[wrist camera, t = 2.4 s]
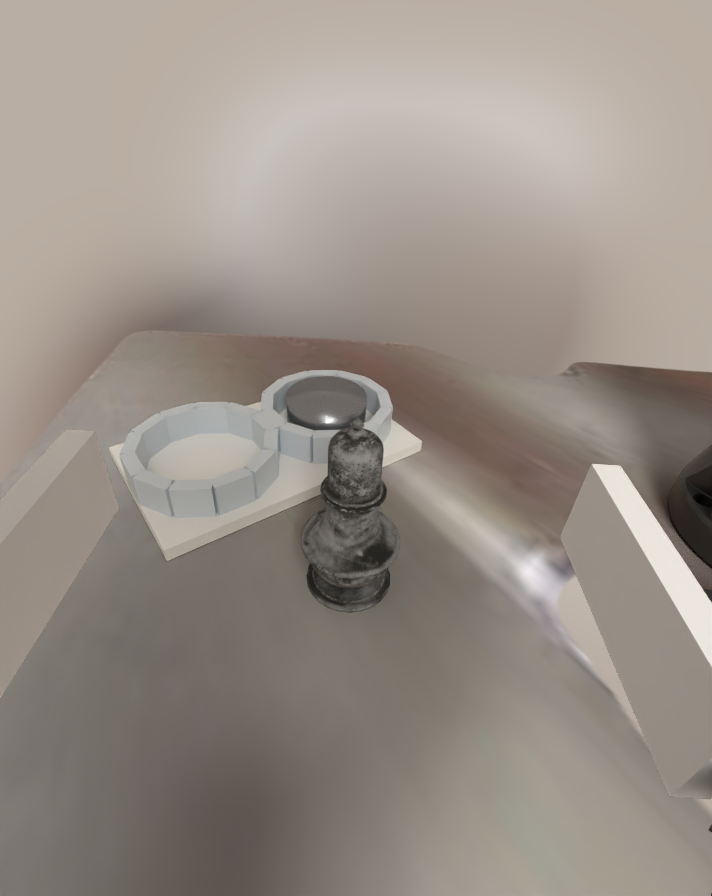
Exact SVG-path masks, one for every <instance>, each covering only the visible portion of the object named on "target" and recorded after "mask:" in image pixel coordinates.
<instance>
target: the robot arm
mask: <svg viewBox="0 0 712 896" xmlns="http://www.w3.org/2000/svg"><path fill="white" fill-rule="evenodd" d="M668 508H669V512H670V516H671V518H672V520H673V523H674V524H675V526H676V528H677V530H678V531H679V533H680V534H681V535H682V537H683V538H684V539H685V541H686V542H687V543H688V544H689V545H690V546H691V547H692V549H693V550H694V551H695V552H696V553H697V554H698V555H699V556H700V557H702V558H703V559H704V560H705V561H706V562H707V563H708V564H710V565H711V566H712V445H711V446H710V447H708V448H707V449H706V450H705V451H703V452H702V453H701V454H700V455H698V456H697V457H696V458H695V459H693V460H692V461H691V462H690V463H689V464H688V465H687V466H686V467H685V468H684V469H683V470H682V472H681V474H680V475H679V477H678V479H677V480H676V482H675V484H674V486H673V487H672V489H671V491H670V493H669V497H668ZM118 509H119V507H118V504H117V501H116V498H115V494H114V491H113V488H112V485H111V482H110V478H109V475H108V472H107V469H106V465H105V462H104V459H103V456H102V452H101V449H100V446H99V443H98V440H97V436H96V433H95V431H81V430H65V431H64V432H63V433H62V434H61V435H60V436H59V437H58V438H57V439H56V441H55V442H54V443H53V444H52V445H51V446H50V447H49V448H48V449H47V450H46V451H45V452H44V453H43V454H42V456H41V457H40V458H39V459H38V460H37V461H36V462H35V463H34V464H33V465H32V466H31V467H30V468H29V469H28V471H27V472H26V473H25V474H24V475H23V476H22V477H21V478H20V479H19V480H18V481H17V482H16V483H15V484H14V486H13V487H12V488H11V489H10V490H9V491H8V492H7V493H6V494H5V495H4V496H3V497H2V498H1V499H0V698H1V697H2V695H3V694H4V692H5V690H6V689H7V687H8V686H9V684H10V682H11V681H12V679H13V678H14V676H15V674H16V673H17V671H18V670H19V668H20V666H21V665H22V663H23V662H24V660H25V658H26V657H27V655H28V653H29V652H30V650H31V649H32V647H33V645H34V644H35V642H36V641H37V639H38V637H39V636H40V634H41V633H42V631H43V629H44V628H45V626H46V625H47V623H48V621H49V620H50V618H51V617H52V615H53V613H54V612H55V610H56V609H57V607H58V605H59V604H60V602H61V601H62V599H63V597H64V596H65V594H66V593H67V591H68V589H69V588H70V586H71V585H72V583H73V581H74V580H75V578H76V577H77V575H78V573H79V572H80V570H81V569H82V567H83V565H84V564H85V562H86V561H87V559H88V557H89V556H90V554H91V553H92V551H93V549H94V548H95V546H96V545H97V543H98V541H99V540H100V538H101V537H102V535H103V533H104V532H105V530H106V529H107V527H108V525H109V524H110V522H111V520H112V519H113V517H114V516H115V514H116V512H117V511H118ZM560 538H561V540H562V543H563V545H564V547H565V550H566V552H567V555H568V557H569V559H570V562H571V564H572V566H573V569H574V571H575V574H576V576H577V578H578V581H579V583H580V585H581V588H582V590H583V593H584V595H585V597H586V600H587V602H588V604H589V607H590V609H591V612H592V614H593V616H594V619H595V621H596V623H597V626H598V628H599V631H600V633H601V635H602V637H603V640H604V642H605V645H606V647H607V650H608V652H609V654H610V657H611V659H612V661H613V664H614V666H615V669H616V671H617V673H618V676H619V678H620V680H621V683H622V685H623V687H624V690H625V692H626V694H627V697H628V699H629V702H630V704H631V707H632V709H633V711H634V714H635V716H636V719H637V721H638V723H639V726H640V728H641V730H642V733H643V735H644V738H645V740H646V742H647V745H648V747H649V749H650V752H651V754H652V757H653V759H654V761H655V764H656V766H657V768H658V771H659V773H660V776H661V778H662V780H663V783H664V785H665V787H666V790H667V792H668V795H669V797H683V798H699V799H711V798H712V590H704V589H702V588H701V586H700V585H699V583H698V582H697V580H696V579H695V577H694V576H693V574H692V573H691V571H690V570H689V568H688V567H687V565H686V564H685V562H684V561H683V559H682V558H681V556H680V555H679V553H678V552H677V550H676V549H675V547H674V545H673V544H672V542H671V541H670V539H669V538H668V536H667V535H666V533H665V532H664V530H663V529H662V527H661V526H660V524H659V523H658V521H657V520H656V518H655V517H654V515H653V514H652V512H651V511H650V509H649V508H648V506H647V505H646V503H645V502H644V500H643V499H642V497H641V496H640V494H639V493H638V491H637V490H636V488H635V487H634V485H633V484H632V482H631V481H630V479H629V478H628V476H627V475H626V473H625V472H624V470H623V469H622V467H621V466H616V465H601V464H591V467H590V469H589V471H588V474H587V476H586V478H585V481H584V483H583V485H582V488H581V490H580V492H579V494H578V497H577V499H576V501H575V504H574V506H573V508H572V511H571V513H570V515H569V518H568V520H567V522H566V525H565V527H564V529H563V532H562V534H561V536H560ZM709 831H711V832H712V825H711V826H710V828H709ZM711 896H712V894H711Z"/></svg>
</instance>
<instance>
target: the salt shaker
mask: <svg viewBox="0 0 712 896" xmlns="http://www.w3.org/2000/svg"><path fill="white" fill-rule="evenodd" d="M350 426H351V428H346V429H342V430H340V431H338V432H337V433H336V434H335V435H334V436H333V437H332V438H331V440H330V442H329V446H328V476H327V477H326V478H325V479H324V480H323V482H322V483H321V488H320V491H321V496H322V497H323V499H324V501H325V502H326V508H325V509H323V510H321V511H320V512H318V513H316V514H315V515H314V516H313V517H312V518H310V519H309V520H308V522H307V523H306V525H305V527H304V528H303V532H302V536H301V543H302V550H303V552H304V554H305V556H306V558H307V559H308V560H309V561H310V563H311V564H310V565H309V567H308V572H307V582H308V587H309V589H310V591H311V593H312V595H313V596H314V597H315V598H316V599H317V600H318V601H319V602H320V603H321V604H323V605H325V606H326V607H328V608H330V609H333V610H336V611H340V612H358V611H363V610H366V609H368V608H371V607H373V606H374V605H376V604H377V603H378V602H380V601H381V600H382V598H383V597H384V596H385V594H386V593H387V590H388V588H389V585H390V573H389V570H388V567H389V566H390V565H391V564H392V562H393V561H394V560H395V559H396V557H397V554H398V552H399V549H400V536H399V533H398V530H397V528H396V527H395V525H394V524H393V522H392V521H391V520H390V519H389V518H388V517H386V516H385V515H384V514H383V513H381V512H379V507H380V505H381V504H382V503H383V502H384V500H385V498H386V493H387V489H386V486H385V483H384V482H383V481H382V480H381V473H382V463H383V453H384V448H383V443H382V441H381V440H380V438H379V437H378V436H377V435H376V434H375V433H374V432H372V431H370V430H367V429H364V428H363V427H364V424H363V423H362V421H361V420H360V419H359V418H356V419H355V420H354V421H353V422H352V423H351V425H350Z"/></svg>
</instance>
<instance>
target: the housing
mask: <svg viewBox="0 0 712 896" xmlns="http://www.w3.org/2000/svg"><path fill="white" fill-rule="evenodd" d="M317 376H334V377H340V378H345V379H348V380H351V381H353V382H355V383H357V384H358V385H360V386H361V387H362V388H363V389H364V390H365V392H366V395H367V402H366V417H365V423H363V424H364V427H363V428H364V429H367V430H370V431H372V432H374V433H375V434H376V435H377V436H378V437H379V438H380V440H381V441H382V443H383V448H384V453H383V463H382V467H385V466H387V465H389V464H391V463H394V462H396V461H398V460H401V459H403V458H405V457H408V456H410V455H412V454H414V453H417V452H419V451H421V445H422V441H421V440H419V439H418V438H417V437H415V436H414V435H413V434H411V433H410V432H409V431H407V430H406V429H404V428H403V427H402V426H400V425H399V424H398V423H396V422H395V421H393V420H392V411H393V406H392V403H391V400H390V397H389V394H388V391H387V390H386V389H384V388H383V387H381V386H380V385H378V384H377V383H375V382H374V381H372V380H371V379H369V378H366V377H365V376H361V375H357V374H353V373H349V372H345V371H341V370H340V371H339V372H338V370H309V372H308V371H303V372H300V373H296V374H293V375H289V376H285V377H282V378H281V379H278V380H277V381H276V382H274V383H273V384H272V385H271V386H269V387H268V388H267V389H266V390H264V391H263V393H262V398H261V402H258V403H255V404H251V405H248V406H243V405H240V404H236V403H233V402H231V403H229V402H195V405H194V404H193V403H189V404H186V405H182V406H179V407H175V408H171V409H168V410H164V411H161V412H159V413H160V414H158V413H156V414H154V415H153V416H151V417H150V418H148V419H147V420H145V421H144V422H142V423H141V424H139V425H138V426H136V427H135V428H133V429H132V430H131V431H132V432H129V434H128V436H127V438H126V440H125V442H124V443H122V444H119V445H115V446H112V447H109V449H110V453H111V456H112V458H113V460H114V462H115V464H116V466H117V468H118V470H119V472H120V473H121V475H122V477H123V479H124V481H125V483H126V485H127V487H128V489H129V491H130V492H131V494H132V496H133V498H134V500H135V502H136V504H137V506H138V508H139V510H140V511H141V513H142V515H143V517H144V519H145V521H146V523H147V525H148V527H149V528H150V530H151V532H152V534H153V536H154V538H155V540H156V542H157V544H158V546H159V547H160V549H161V551H162V553H163V555H164V557H165V559H166V561H169V560H171V559H173V558H175V557H178V556H180V555H182V554H185V553H187V552H189V551H192V550H194V549H196V548H198V547H201V546H203V545H205V544H208V543H210V542H212V541H215V540H217V539H219V538H221V537H224V536H226V535H228V534H231V533H233V532H235V531H238V530H240V529H242V528H244V527H247V526H249V525H251V524H254V523H256V522H258V521H260V520H263V519H265V518H267V517H270V516H272V515H274V514H277V513H279V512H281V511H283V510H286V509H288V508H290V507H293V506H295V505H297V504H300V503H302V502H304V501H306V500H309V499H311V498H313V497H316V496H318V495H320V494H321V491H320V488H321V483H322V482H323V480H324V479H325V478H326V477H327V476H328V446H329V442H330V440H331V438H332V437H333V436H334V435H335V434H336V433H337V432H338V431H340V430H312V429H308V428H305V427H301V426H298V425H295V424H291V423H288V422H287V403H286V394H287V391H288V389H289V388H290V387H291V386H292V385H293V384H295V383H296V382H298V381H301V380H303V379H306V378H310V377H317Z"/></svg>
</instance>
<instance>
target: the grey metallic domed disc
mask: <svg viewBox="0 0 712 896" xmlns="http://www.w3.org/2000/svg"><path fill="white" fill-rule="evenodd" d="M366 402H367V395H366V392H365V390H364V389H363V388H362V387H361V386H360V385H358V384H357V383H355V382H353V381H351V380H348V379H345V378H340V377H334V376H317V377H310V378H306V379H303V380H301V381H298V382H296V383H295V384H293V385H292V386H291V387H290V388H289V389H288V391H287V394H286V403H287V422H288V423H291V424H295V425H298V426H301V427H305V428H308V429H312V430H342V429H346V428H351V426H350V425H351V423H352V422H353V421H354V420H355V419H356V418H359V419H360V420H361V421H362V423H365V417H366Z"/></svg>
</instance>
